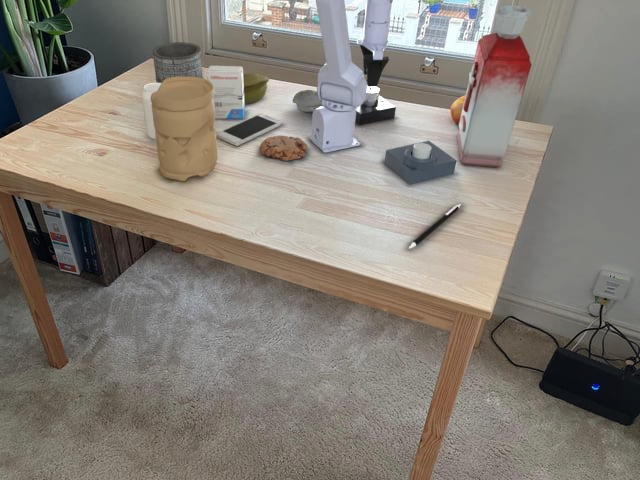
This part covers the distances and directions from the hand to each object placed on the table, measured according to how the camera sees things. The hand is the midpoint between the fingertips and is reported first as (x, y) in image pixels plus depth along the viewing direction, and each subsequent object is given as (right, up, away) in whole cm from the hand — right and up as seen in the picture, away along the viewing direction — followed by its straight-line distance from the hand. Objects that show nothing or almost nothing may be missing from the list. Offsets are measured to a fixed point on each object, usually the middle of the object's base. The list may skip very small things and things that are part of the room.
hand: (370, 80), depth 138 cm
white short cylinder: (+7, -23, -20) cm, 31 cm away
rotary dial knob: (+1, -4, +4) cm, 6 cm away
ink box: (-35, -6, +7) cm, 36 cm away
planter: (-48, +1, +16) cm, 50 cm away
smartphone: (-29, -12, 0) cm, 32 cm away
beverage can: (-50, -14, -1) cm, 52 cm away
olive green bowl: (-30, 0, +15) cm, 34 cm away
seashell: (-13, -5, +8) cm, 17 cm away
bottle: (+22, -20, -9) cm, 31 cm away
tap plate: (+1, -6, +6) cm, 9 cm away
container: (-42, -24, -13) cm, 50 cm away
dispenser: (+7, -24, -14) cm, 29 cm away
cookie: (-21, -20, -8) cm, 30 cm away
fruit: (+23, -10, +2) cm, 26 cm away
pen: (+6, -39, -31) cm, 50 cm away
